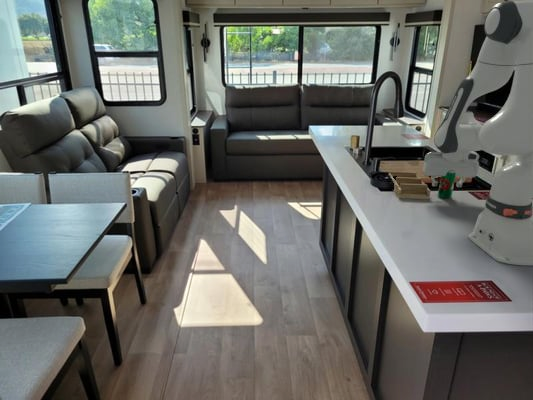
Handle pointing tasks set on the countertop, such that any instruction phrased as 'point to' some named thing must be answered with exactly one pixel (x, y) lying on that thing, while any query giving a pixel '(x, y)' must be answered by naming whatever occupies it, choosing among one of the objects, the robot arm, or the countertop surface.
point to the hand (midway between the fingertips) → (446, 186)
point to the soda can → (447, 185)
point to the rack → (409, 185)
